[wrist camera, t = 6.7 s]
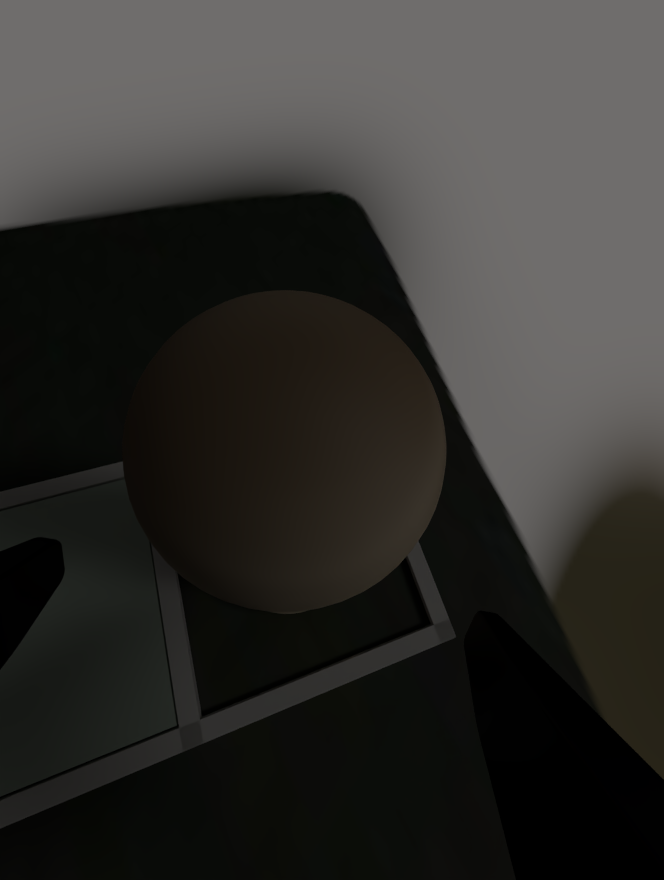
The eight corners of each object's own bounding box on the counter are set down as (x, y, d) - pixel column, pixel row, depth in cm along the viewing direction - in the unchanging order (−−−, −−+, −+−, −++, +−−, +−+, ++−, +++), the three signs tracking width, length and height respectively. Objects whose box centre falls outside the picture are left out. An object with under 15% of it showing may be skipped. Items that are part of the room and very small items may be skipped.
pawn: (367, 586, 18) (714, 576, 3) (243, 631, 16) (-93, 946, 2) (329, 471, 20) (438, 147, 5) (215, 504, 18) (-55, 194, 4)
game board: (452, 635, 17) (456, 637, 17) (-168, 895, 12) (-182, 904, 12) (362, 405, 21) (363, 401, 21) (-129, 527, 16) (-139, 526, 16)
